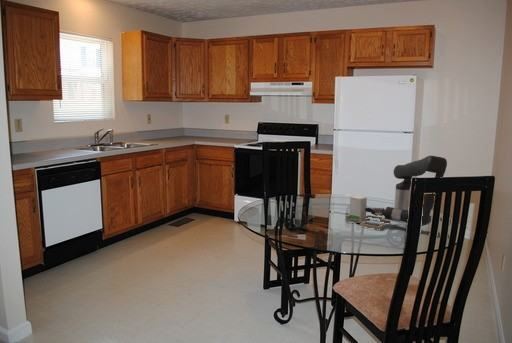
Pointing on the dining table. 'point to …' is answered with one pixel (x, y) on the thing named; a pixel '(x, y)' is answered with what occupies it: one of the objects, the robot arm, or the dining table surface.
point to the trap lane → (363, 223)
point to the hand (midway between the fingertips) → (366, 209)
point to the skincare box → (358, 207)
